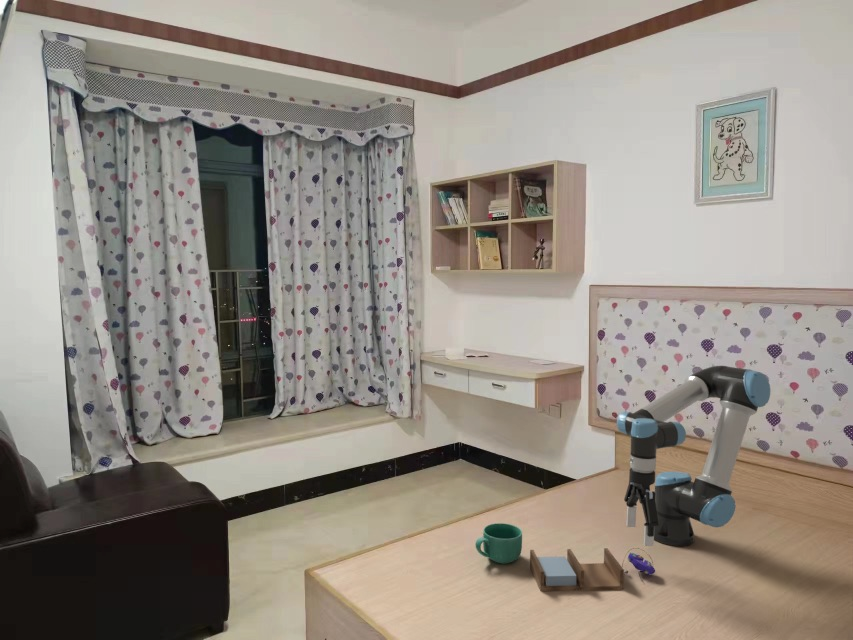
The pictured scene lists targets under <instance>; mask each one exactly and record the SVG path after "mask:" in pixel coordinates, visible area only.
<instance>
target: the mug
mask: <svg viewBox="0 0 853 640" xmlns="http://www.w3.org/2000/svg"><path fill="white" fill-rule="evenodd" d="M482 534H483V536H480V537H478V538H477V539H476V542H475V549H476V551H477V552H478V553H479V554H480V555H481V556H483V557H485V558H488V559H490V560H492V561H493V562H495V563H497V564H509V563H513V562H515V561H516V560H517V559H519V557H520V556H521V553H522V548H523V531H522V529H521V528H519V527H518V526H516V525H515V524H514V525H513V524H510V523H503V522H499V523H497V522H496V523H491V524H488V525H486V526H485V527H484V528H483V533H482ZM482 545H483V546H482ZM481 546H482V547H483V550H482V548H481Z"/></svg>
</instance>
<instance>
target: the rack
mask: <svg viewBox="0 0 853 640" xmlns="http://www.w3.org/2000/svg"><path fill="white" fill-rule="evenodd" d="M566 551H567V553H566V559H567V561H568V562H569V564H570V566H571V567H572V569H573V571H574V573H575V574H576V585H568V586H546V584H545V582H544V570H543V568H542V566H541V564H540V562H539V560H538V558H537V557H538V556H537V554H536V552H535V550H534V549H530V550H529V568H530V571H531V573H532V576H533V578H534V580H535V582H536V584H537V586H538V589H539V591H540V592H556V591H557V592H558V591H562V592H564V591H566V592H567V591H597V590H598V591H601V590H602V591H603V590H606V591H607V590H624V579H625V577H624V576H625V575H624V574H625V569H624V568H623V567H622V565H621V563H619V562H618V560H617V559H616V557H615V556H614V555H613V554H612V553H611V551H610V550H609V548H607V547H606V548H604V547H603V563H602V562H599V563H594V562H593V563H580V562H579V560H578V559H577V557H576V555H575V553H573V551H572V549H571V548H567V550H566Z"/></svg>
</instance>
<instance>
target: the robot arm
mask: <svg viewBox="0 0 853 640" xmlns="http://www.w3.org/2000/svg"><path fill="white" fill-rule="evenodd" d="M770 397H771V384H770V381H769V379H768V378H767V376H766V375H765V374H764V373H763V372H761V371H756V370H753V369H746V368H739V367H734V366H727V365H715V366H711V367H706V368H704V369H701V370H699V371H696V372H695V373H693V374H691V375H689V376H687V377H686V378H685V380H684V382H683V383H682V384H680V385H678V386H676V387H674V388H673V389H671V390H670V391H668V392H666V393H665V394H663V395H662V396H660V397H658V398H657V399H655V400H653V401H651V402H650V403H648V404H646V405H645V406H643V407H641V408H640V409H638V410H637V411H635V412H631V411H623V412H621V413H620V414H619V415H618V416H617V419H616V427H617V430H618V431H619V432H620V433H621V434H624V435H626V436H629V437H630V455H629V456H630V457H629V458H628V461H629V467H630V468H629V476H628V478H629V479H628V486H627V488H626V492H625V495H624V502H625V505H626V506H627V507H626V524H625V525H626V526H625V527H627V528H636V525H637V524H636V521H637V506H638V504H637V503H638V501H639V503H640V504H641V508H642V510H643V511H642V512H643V515H644V520H645V523H644V524H643V525H644V530H643V546H644V547H654V546H655V545H654V544H655V542H658V543H661V544H664V545H668V546H675V547H684V546H685V547H686V546H690V545H692V544H693V543H694V542H695V532H694V528H693V526H692V523H691V519H693V520H695V521H697V522H700V523H702V524H703V525H706V526H710V527H712V528H721V527H724V526H725V525H727V524H728V523H729V522H730V521H731V519H732V518H733V516H734V515H735V513H736V508H737V507H736V501H735V498H734V497H733V496H732V494H733V490H732V488H731V485H730V482H731V478H732V474H733V471H734V468H735V466H736V462H737V459H738V456H739V452H740V450H741V449H740V448H741V447H742V443H743V440H744V437H745V433H746V430H747V427H748V425H749V424H748V423H749V420H750V417H751V416H753V415H755V414H757V412H758V409H759V408H762V407H765V406H767V404H768V403H769V401H770ZM711 398H716V399H719V404H720V405H721V407H722V408H721V411H720V415H719V419H718V421H717V424H716V427H715V432H714V434H713V438H712V441H711V443H710V447H709V451H708V453H707V456H706V459H705V464H704V466H703V470H702V472H701V474H700V475H697V476H695V479H694V482H693V479H692V476H691V474H689V473H687V472H682V471H664V472H660V473H658V474H657V475H656V469H657V450H658V449H663V448H664V449H665V448H670V447H676V446H680V445H682V444H683V443H684V442H685V441H686V438H687V436H686V435H687V432H686V429H685V427H684V425H683V424H681V422H678V421H667V420H669V419H670V418H672V417H674V416H676V415H677V414H679V413H680V412H682V411H683V410H685V409H687V408H689V407H690V406H692V405H693V404H694V403H696V402H703V401H705V400H707V399H711ZM666 421H667V422H666ZM651 485H654V491H652V490H651V488H650V487H651Z"/></svg>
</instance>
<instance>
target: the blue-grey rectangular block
mask: <svg viewBox="0 0 853 640" xmlns="http://www.w3.org/2000/svg"><path fill="white" fill-rule="evenodd" d="M537 558H538V560H539V562H540V564H541V566H542V568H543V570H544V582H545V584H546V586H568V585H576V574H575V573H574V571H573V569H572V567H571V566H570V564H569V562H568V561H567V556H537Z"/></svg>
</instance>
